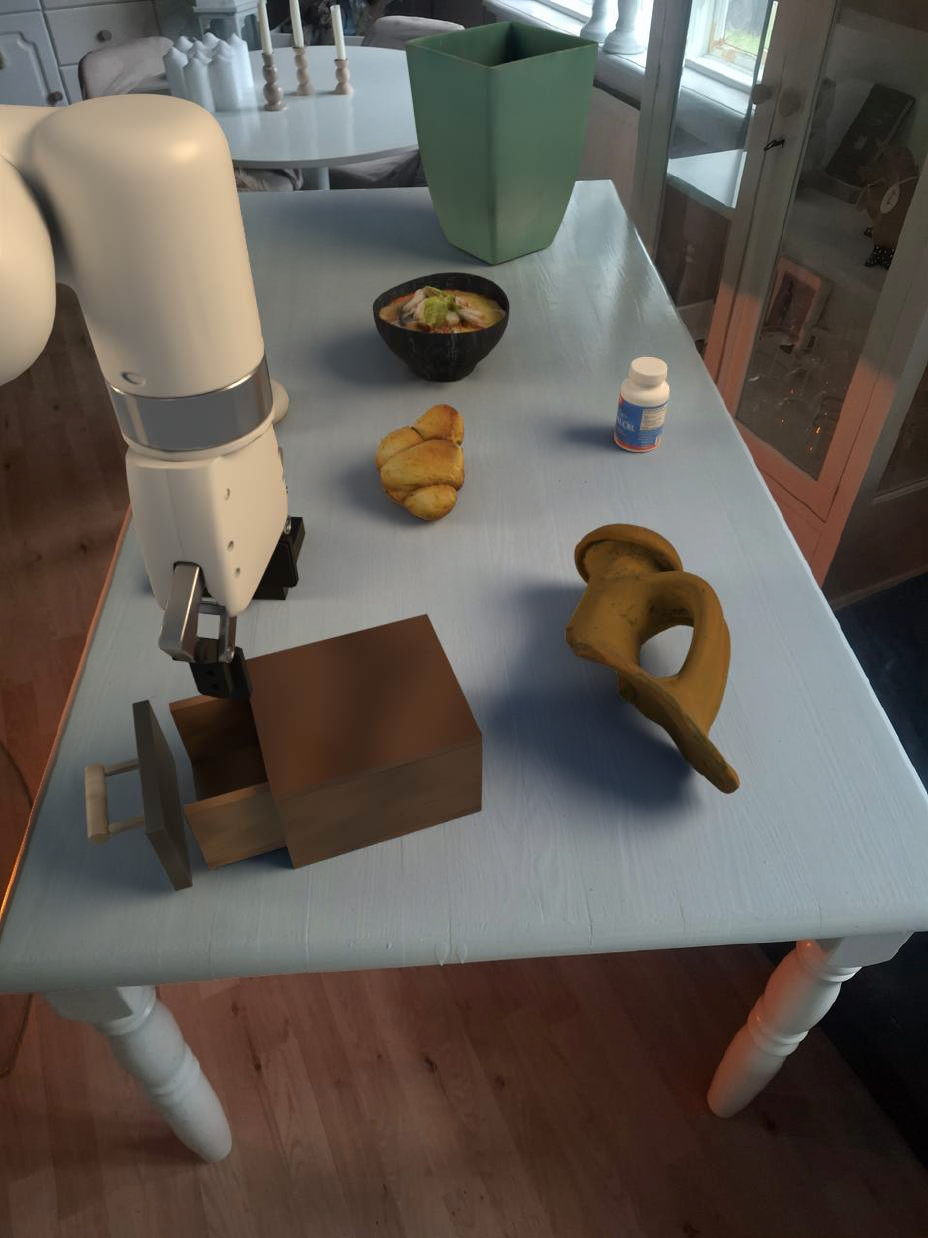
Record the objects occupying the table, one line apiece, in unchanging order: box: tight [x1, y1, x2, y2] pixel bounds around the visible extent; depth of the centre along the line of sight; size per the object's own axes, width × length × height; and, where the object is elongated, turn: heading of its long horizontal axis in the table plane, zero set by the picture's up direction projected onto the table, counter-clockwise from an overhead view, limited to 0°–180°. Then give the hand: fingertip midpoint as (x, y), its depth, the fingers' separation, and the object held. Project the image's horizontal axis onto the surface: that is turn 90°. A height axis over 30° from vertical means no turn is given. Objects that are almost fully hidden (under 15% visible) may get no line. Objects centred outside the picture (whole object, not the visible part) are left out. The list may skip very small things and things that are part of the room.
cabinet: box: [245, 613, 483, 870], centre depth 65 cm, size 15×13×10 cm
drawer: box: [83, 694, 287, 892], centre depth 63 cm, size 18×11×8 cm, turn 109°
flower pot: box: [404, 20, 600, 266], centre depth 131 cm, size 20×20×28 cm
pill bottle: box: [613, 356, 670, 453], centre depth 97 cm, size 6×5×10 cm
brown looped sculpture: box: [564, 523, 741, 795], centre depth 70 cm, size 18×13×22 cm
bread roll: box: [374, 403, 465, 521], centre depth 91 cm, size 13×10×8 cm
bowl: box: [372, 271, 511, 383], centre depth 110 cm, size 17×17×10 cm
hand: (252, 635), depth 54 cm, fingers open, 9 cm apart
